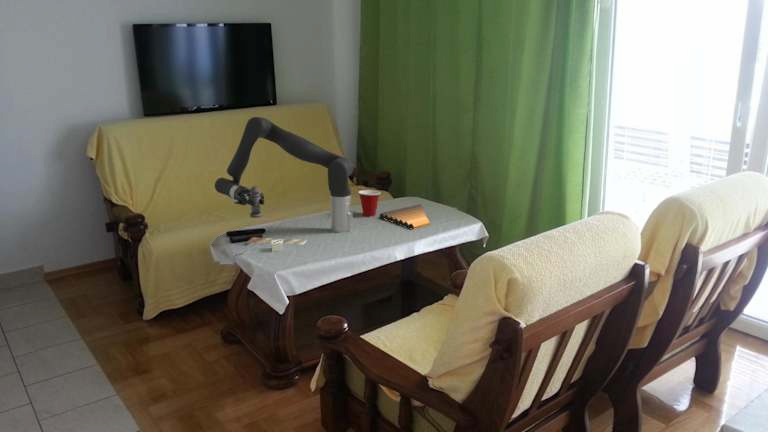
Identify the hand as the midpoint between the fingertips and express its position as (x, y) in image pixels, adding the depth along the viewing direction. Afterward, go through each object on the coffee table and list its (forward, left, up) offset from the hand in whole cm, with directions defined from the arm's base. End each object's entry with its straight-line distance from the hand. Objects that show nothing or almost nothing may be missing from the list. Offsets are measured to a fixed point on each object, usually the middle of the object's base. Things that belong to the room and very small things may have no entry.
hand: (258, 203), depth 255 cm
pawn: (+2, -2, -6) cm, 7 cm away
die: (-10, +8, -18) cm, 22 cm away
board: (-7, -2, -18) cm, 20 cm away
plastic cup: (-38, -50, -18) cm, 65 cm away
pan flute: (-61, -47, -19) cm, 80 cm away
